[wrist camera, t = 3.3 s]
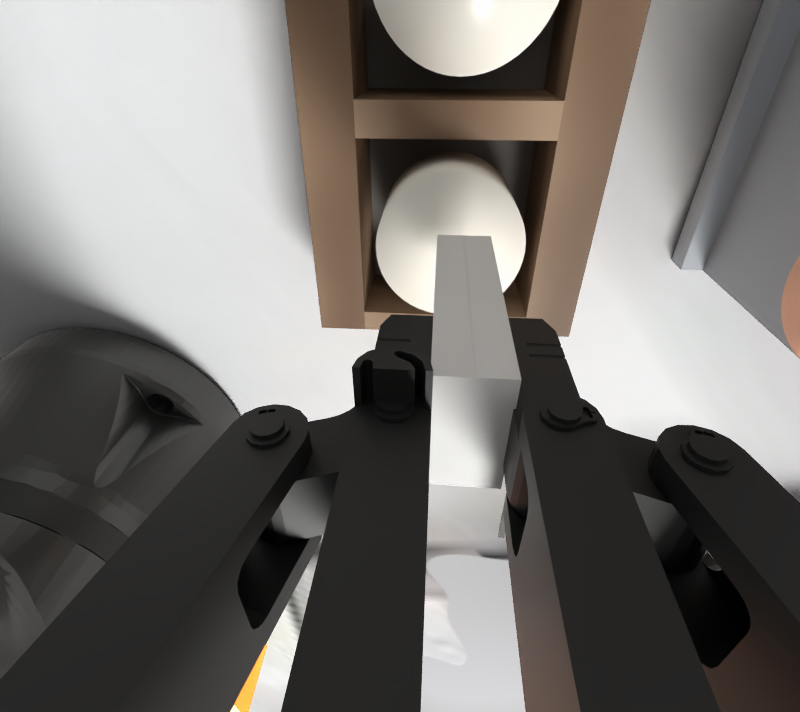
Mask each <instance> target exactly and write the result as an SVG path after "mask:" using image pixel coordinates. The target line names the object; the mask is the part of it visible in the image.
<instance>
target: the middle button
mask: <svg viewBox="0 0 800 712" xmlns="http://www.w3.org/2000/svg"><path fill="white" fill-rule="evenodd" d="M373 1H374V4H375V8H376V10H377V12H378V15H379V17H380V20H381V22H382V23H383V25H384V27H385V29H386V31H387V32H388V34H389V35H390V37H391V38H392V39H393V41H394V42H395V44H396V45H397V46H398V47H399V48H400V49H401V50H402V51H403V52H404V53H405V54H406V55H407V56H408V57H409V58H411V59H412V60H413V61H414V62H416V63H418V64H419V65H421V66H423V67H424V68H426V69H429V70H431V71H433V72H436V73H439V74H443V75H448V76H458V77H463V76H474V75H479V74H483V73H486V72H489V71H492V70H494V69H497V68H499V67H501V66H502V65H504V64H506V63H508V62H509V61H511V60H512V59H514V58H515V57H516V56H518V55H519V54H520V53H521V52H523V51H524V50H525V49H526V48H527V47H528V46H529V45H530V44H531V43H532V42H533V41H534V40H535V38H536V37H537V36H538V35H539V34H540V33H541V31H542V30H543V28H544V27H545V25H546V24H547V22H548V21H549V19H550V18H551V16H552V14H553V12H554V10H555V9H556V7H557V5H558V2H559V0H373Z"/></svg>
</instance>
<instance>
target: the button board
mask: <svg viewBox="0 0 800 712" xmlns="http://www.w3.org/2000/svg"><path fill="white" fill-rule="evenodd" d="M650 2H651V0H559V2H558V5H557V7H556V9H555V10H554V12H553V14H552V16H551V18H550V19H549V21H548V22H547V24H546V25H545V27H544V28H543V30H542V31H541V33H540V34H539V35H538V36H537V37H536V38H535V40H534V41H533V42H532V43H531V44H530V45H529V46H528V47H527V48H526V49H525V50H524V51H523V52H521V53H520V54H519V55H518V56H516V57H515V58H514V59H512V60H511V61H509V62H508V63H506V64H504V65H502V66H501V67H499V68H497V69H494V70H492V71H489V72H486V73H483V74H479V75H474V76H463V77H458V76H448V75H443V74H439V73H436V72H433V71H431V70H429V69H426V68H424V67H423V66H421V65H419V64H418V63H416V62H414V61H413V60H412V59H411V58H409V57H408V56H407V55H406V54H405V53H404V52H403V51H402V50H401V49H400V48H399V47H398V46H397V45H396V44H395V42H394V41H393V39H392V38H391V37H390V35H389V34H388V32H387V31H386V29H385V27H384V25H383V23H382V22H381V20H380V17H379V15H378V12H377V10H376V8H375V4H374V1H373V0H285V7H286V16H287V25H288V33H289V42H290V51H291V60H292V69H293V77H294V86H295V95H296V104H297V112H298V121H299V130H300V139H301V148H302V156H303V165H304V174H305V183H306V192H307V200H308V209H309V218H310V227H311V236H312V244H313V253H314V262H315V271H316V280H317V288H318V297H319V306H320V315H321V323H322V327H325V328H351V329H378V330H379V329H380V325H381V324H382V323H383V322H384V321H385V320H386V319H387V318H388V317H389V316H390V315H391V314H397V315H422V316H433V313H431V312H427V311H424V310H421V309H418V308H416V307H414V306H412V305H410V304H409V303H407V302H406V301H404V300H403V299H402V298H400V297H399V296H398V295H397V294H396V293H395V292H394V291H393V290H392V289H391V287H390V286H389V285H388V283H387V282H386V280H385V278H384V277H383V275H382V273H381V270H380V267H379V265H378V260H377V255H376V236H377V230H378V227H379V224H380V220H381V217H382V214H383V211H384V208H385V205H386V202H387V199H388V196H389V193H390V191H391V189H392V187H393V185H394V183H395V182H396V180H397V179H398V178H399V176H400V175H401V174H402V173H403V172H404V171H405V170H406V169H407V168H408V167H409V166H410V165H412V164H413V163H415V162H416V161H418V160H420V159H422V158H424V157H426V156H429V155H432V154H435V153H440V152H448V151H455V152H464V153H468V154H472V155H474V156H477V157H479V158H481V159H483V160H485V161H486V162H488V163H489V164H490V165H492V166H493V167H494V168H495V169H496V170H497V171H498V172H499V173H500V174H501V176H502V177H503V178H504V180H505V181H506V183H507V185H508V187H509V189H510V191H511V194H512V196H513V198H514V201H515V203H516V205H517V208H518V210H519V212H520V215H521V218H522V220H523V223H524V228H525V235H526V246H525V254H524V258H523V262H522V265H521V267H520V270H519V272H518V274H517V275H516V277H515V279H514V280H513V282H512V283H511V284H510V286H509V287H508V288H507V289H506V290H505V291H504V292H503V296H504V300H505V305H506V310H507V314H508V317H509V318H534V319H543V320H544V321H545V322H546V323H548V324H549V325H550V326H551V327H552V328H553V329H554V330H555V331H556V333H557V336H565V337H569V333H570V329H571V325H572V321H573V317H574V313H575V309H576V305H577V300H578V296H579V292H580V288H581V284H582V280H583V276H584V272H585V268H586V264H587V260H588V255H589V251H590V247H591V243H592V239H593V235H594V231H595V227H596V223H597V219H598V215H599V211H600V206H601V202H602V198H603V194H604V190H605V186H606V182H607V178H608V174H609V170H610V166H611V161H612V157H613V153H614V149H615V145H616V141H617V137H618V133H619V129H620V125H621V121H622V117H623V112H624V108H625V104H626V100H627V96H628V92H629V88H630V84H631V80H632V76H633V72H634V67H635V63H636V59H637V55H638V51H639V47H640V43H641V39H642V35H643V31H644V27H645V23H646V18H647V14H648V10H649V6H650Z"/></svg>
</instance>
